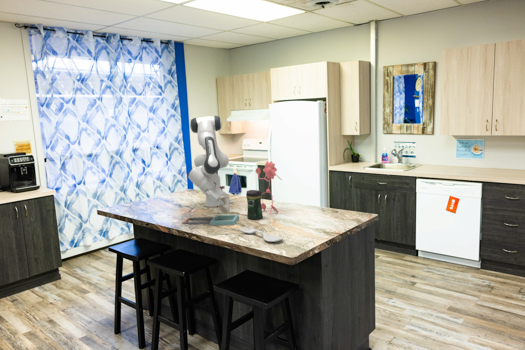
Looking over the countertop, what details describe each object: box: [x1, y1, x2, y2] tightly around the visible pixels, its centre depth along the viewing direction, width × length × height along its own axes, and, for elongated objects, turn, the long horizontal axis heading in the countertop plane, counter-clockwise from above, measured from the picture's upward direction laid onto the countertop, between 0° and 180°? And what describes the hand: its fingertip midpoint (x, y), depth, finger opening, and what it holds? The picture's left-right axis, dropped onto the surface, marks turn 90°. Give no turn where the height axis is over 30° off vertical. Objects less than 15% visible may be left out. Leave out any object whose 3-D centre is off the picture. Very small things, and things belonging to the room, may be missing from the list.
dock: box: [209, 214, 240, 226], centre depth 260 cm, size 15×15×2 cm
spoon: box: [238, 225, 284, 243], centre depth 224 cm, size 9×32×4 cm, turn 38°
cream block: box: [217, 195, 231, 214], centre depth 259 cm, size 6×5×10 cm
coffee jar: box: [245, 189, 264, 220], centre depth 264 cm, size 10×8×19 cm
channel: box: [181, 216, 215, 225], centre depth 263 cm, size 18×12×2 cm
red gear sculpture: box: [255, 160, 282, 215], centre depth 279 cm, size 15×26×35 cm, turn 42°
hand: (224, 203), depth 258 cm, fingers closed on cream block, 5 cm apart
